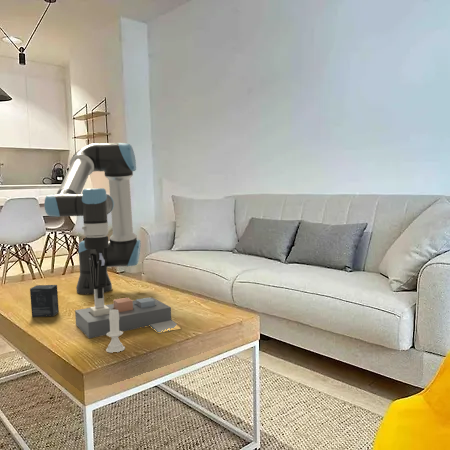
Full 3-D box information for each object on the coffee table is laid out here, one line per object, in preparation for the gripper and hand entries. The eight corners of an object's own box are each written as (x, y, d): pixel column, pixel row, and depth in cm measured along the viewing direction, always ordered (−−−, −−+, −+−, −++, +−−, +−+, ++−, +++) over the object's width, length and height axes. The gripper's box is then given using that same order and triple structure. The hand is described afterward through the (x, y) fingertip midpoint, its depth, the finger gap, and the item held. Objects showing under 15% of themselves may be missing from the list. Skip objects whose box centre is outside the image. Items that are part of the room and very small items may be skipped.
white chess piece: (102, 352, 124) (100, 311, 122) (110, 345, 129) (108, 305, 128) (120, 353, 123) (118, 311, 121) (127, 346, 128) (126, 306, 127)
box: (59, 312, 163) (57, 284, 162) (53, 316, 158) (51, 288, 157) (38, 312, 163) (36, 284, 162) (31, 317, 158) (29, 288, 157)
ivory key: (90, 319, 145) (89, 307, 145) (105, 316, 148) (104, 304, 148) (94, 322, 141) (94, 310, 141) (110, 320, 144) (109, 308, 144)
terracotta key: (113, 311, 150) (113, 299, 149) (127, 308, 152) (127, 297, 152) (118, 314, 145) (118, 302, 145) (133, 312, 148) (132, 300, 148)
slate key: (136, 310, 154) (135, 299, 154) (149, 308, 157) (149, 297, 156) (141, 314, 150) (141, 302, 149) (155, 311, 152) (154, 300, 152)
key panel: (75, 324, 148) (75, 310, 148) (152, 310, 163) (152, 297, 163) (88, 338, 135) (88, 322, 135) (171, 321, 150) (170, 307, 149)
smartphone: (158, 332, 138) (143, 319, 151) (158, 335, 138) (143, 321, 151) (182, 327, 142) (166, 315, 155) (182, 330, 142) (166, 317, 155)
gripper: (79, 235, 145) (82, 304, 148) (90, 239, 134) (93, 313, 137) (101, 233, 149) (104, 301, 152) (114, 237, 138) (117, 309, 141)
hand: (99, 307), depth 144 cm, fingers closed
